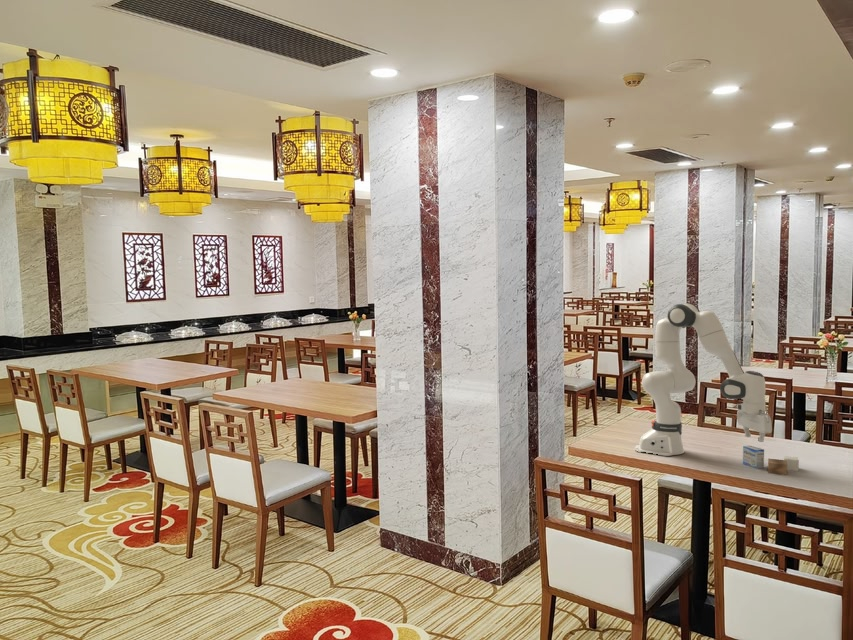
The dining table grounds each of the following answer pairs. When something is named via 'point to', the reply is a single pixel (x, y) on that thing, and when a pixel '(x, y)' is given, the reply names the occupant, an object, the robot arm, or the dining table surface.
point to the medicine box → (753, 457)
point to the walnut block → (777, 466)
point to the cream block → (792, 463)
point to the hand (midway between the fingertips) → (754, 439)
